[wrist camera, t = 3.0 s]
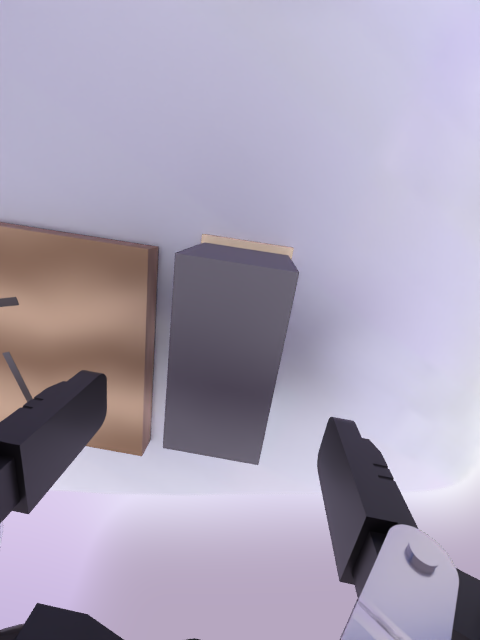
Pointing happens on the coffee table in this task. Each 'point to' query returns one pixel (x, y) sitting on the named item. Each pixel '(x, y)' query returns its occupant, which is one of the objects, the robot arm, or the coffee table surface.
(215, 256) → the sanding block
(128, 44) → the coffee table surface
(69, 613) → the robot arm
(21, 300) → the oak board
